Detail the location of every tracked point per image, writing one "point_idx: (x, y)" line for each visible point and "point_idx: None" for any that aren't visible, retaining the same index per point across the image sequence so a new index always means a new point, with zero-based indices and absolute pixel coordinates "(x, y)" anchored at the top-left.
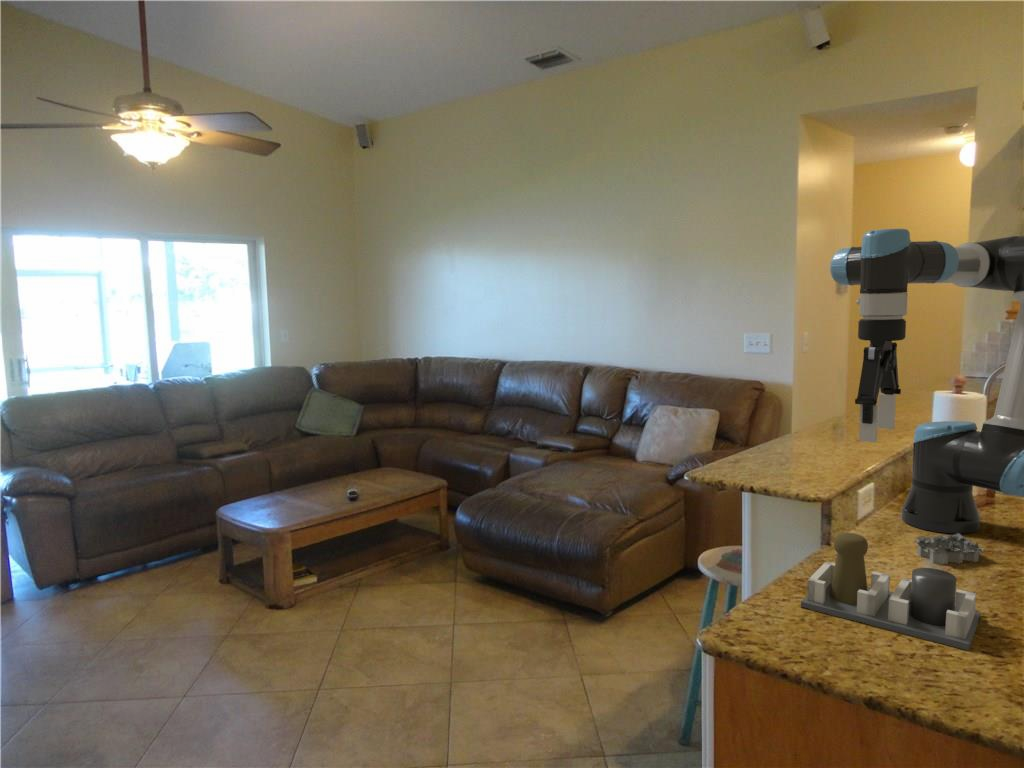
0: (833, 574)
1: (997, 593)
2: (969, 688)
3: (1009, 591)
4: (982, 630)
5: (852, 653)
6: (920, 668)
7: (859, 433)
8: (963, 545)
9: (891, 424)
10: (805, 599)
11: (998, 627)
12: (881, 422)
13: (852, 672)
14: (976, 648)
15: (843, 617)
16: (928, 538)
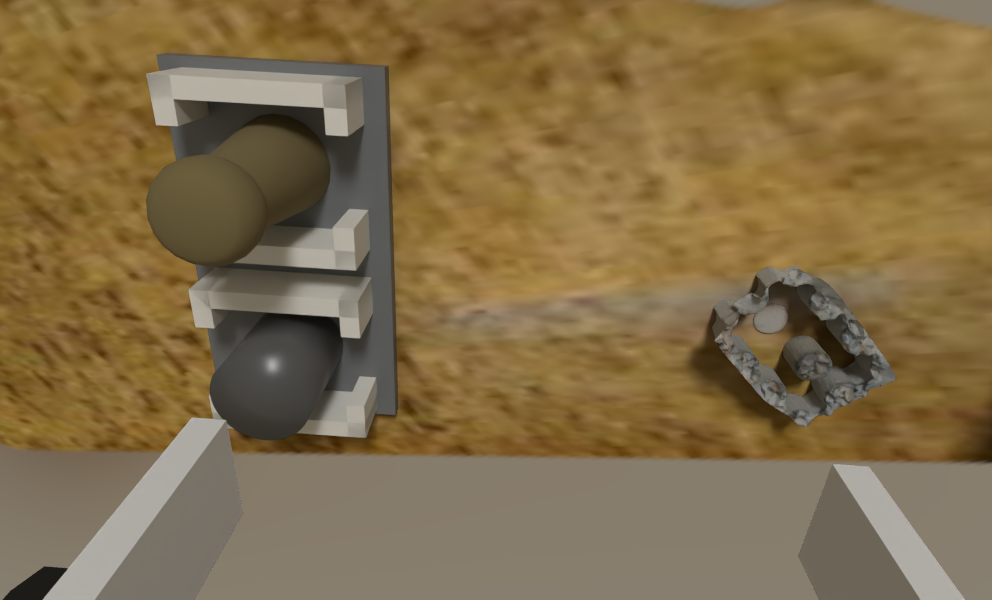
0: (232, 137)
1: (564, 431)
2: (86, 400)
3: (590, 449)
4: None
5: (37, 219)
6: (88, 333)
7: (157, 460)
8: (860, 373)
9: (822, 578)
10: (180, 62)
11: (374, 432)
12: (848, 528)
13: None
14: None
15: None
16: (842, 303)
